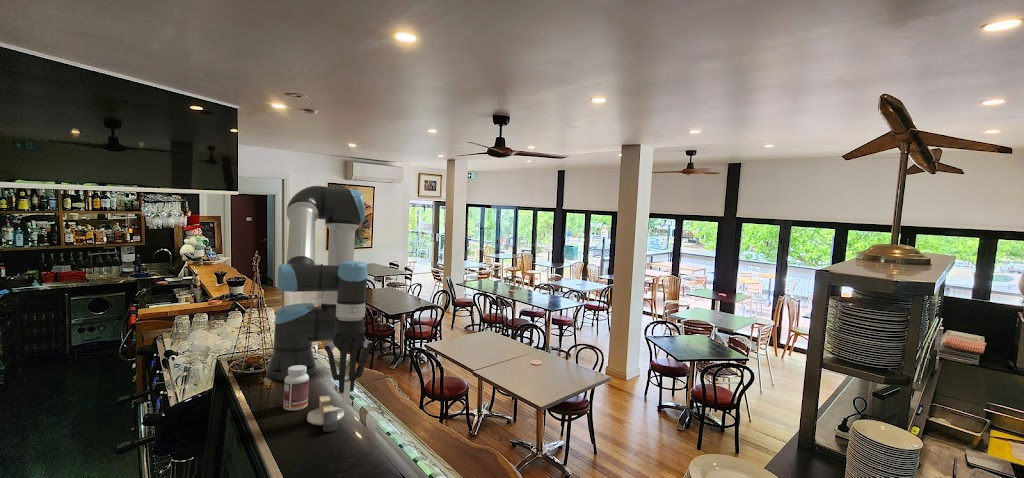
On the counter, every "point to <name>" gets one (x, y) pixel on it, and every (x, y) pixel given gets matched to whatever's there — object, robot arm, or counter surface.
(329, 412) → the hinged leg
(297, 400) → the pill bottle
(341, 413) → the seat pad
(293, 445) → the counter surface
